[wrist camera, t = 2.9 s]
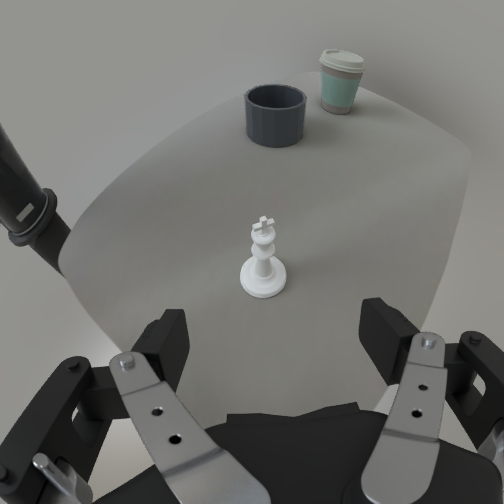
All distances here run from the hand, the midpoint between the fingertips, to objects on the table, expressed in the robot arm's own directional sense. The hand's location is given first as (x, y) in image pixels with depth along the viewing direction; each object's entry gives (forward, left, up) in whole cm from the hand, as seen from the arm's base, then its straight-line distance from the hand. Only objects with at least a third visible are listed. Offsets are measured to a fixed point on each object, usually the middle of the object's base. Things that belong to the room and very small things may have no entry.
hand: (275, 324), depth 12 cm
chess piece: (+1, +10, -15) cm, 18 cm away
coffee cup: (+21, +44, -15) cm, 51 cm away
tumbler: (+7, +36, -15) cm, 39 cm away
